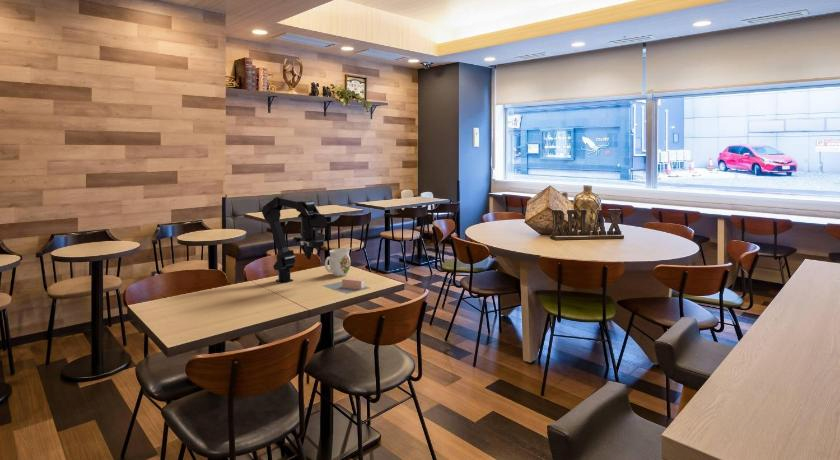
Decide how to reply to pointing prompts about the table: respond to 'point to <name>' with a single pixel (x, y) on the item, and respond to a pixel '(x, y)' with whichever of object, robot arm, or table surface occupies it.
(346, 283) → the block
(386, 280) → the table surface
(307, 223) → the robot arm
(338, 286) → the mat
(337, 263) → the pitcher
